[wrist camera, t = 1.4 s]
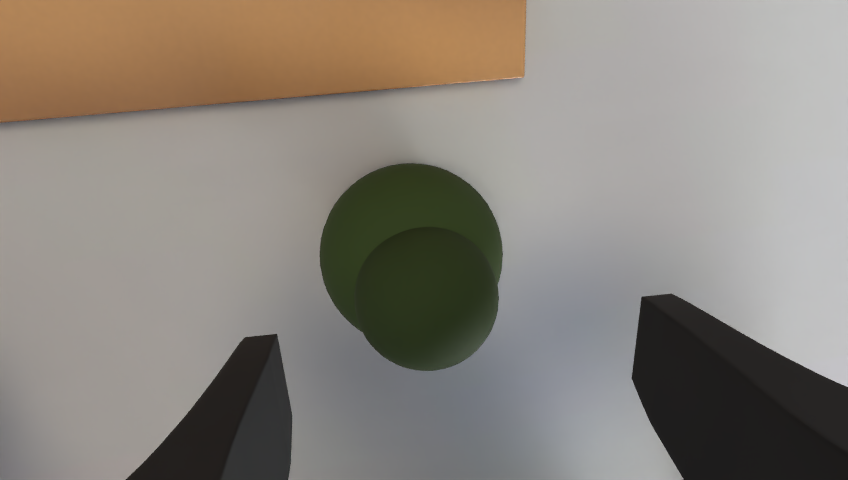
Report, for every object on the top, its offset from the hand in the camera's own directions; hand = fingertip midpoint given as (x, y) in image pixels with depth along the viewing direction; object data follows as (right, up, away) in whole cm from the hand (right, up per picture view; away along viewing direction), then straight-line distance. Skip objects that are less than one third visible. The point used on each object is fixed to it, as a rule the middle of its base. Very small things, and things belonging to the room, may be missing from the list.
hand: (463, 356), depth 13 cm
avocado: (-2, +3, +9) cm, 10 cm away
